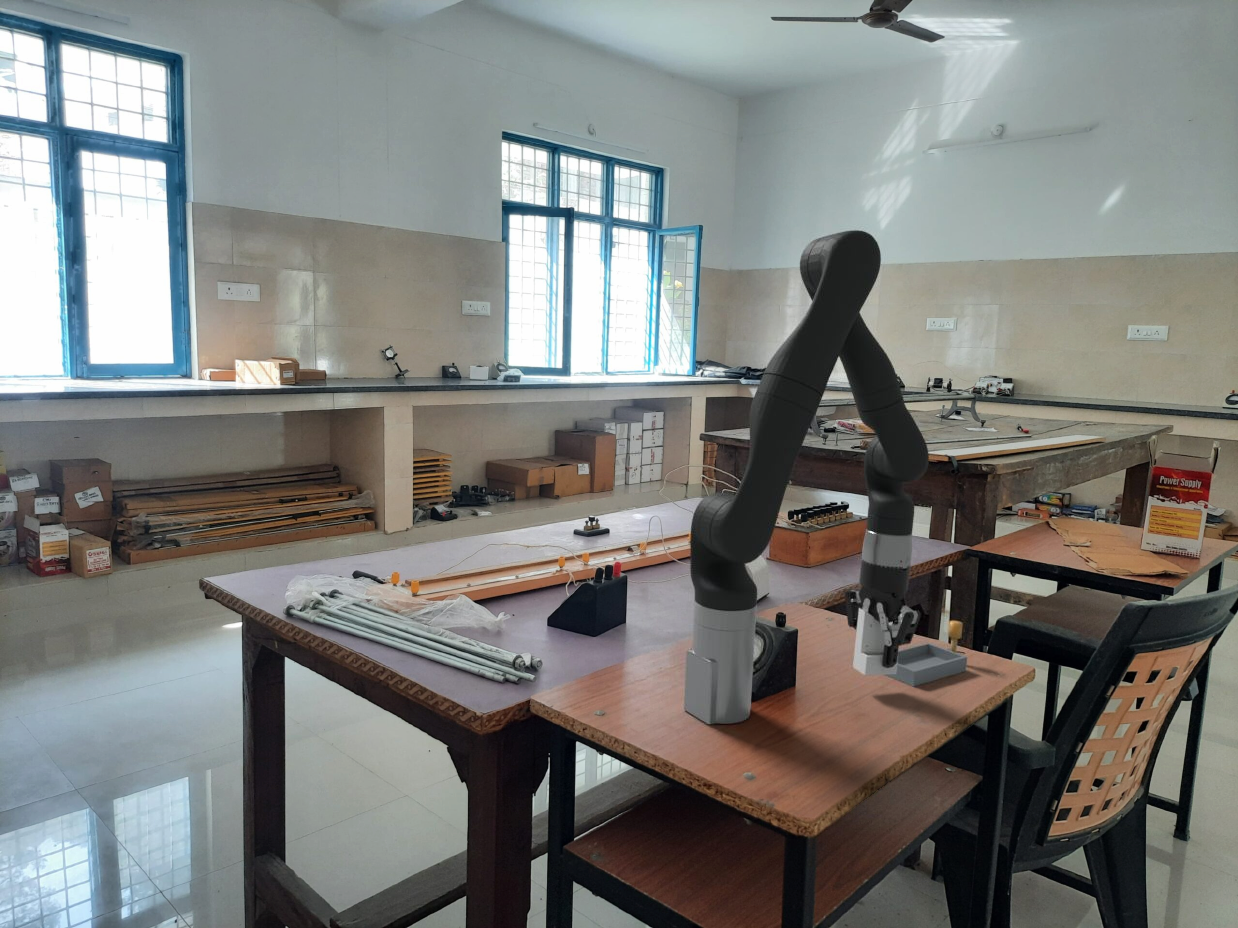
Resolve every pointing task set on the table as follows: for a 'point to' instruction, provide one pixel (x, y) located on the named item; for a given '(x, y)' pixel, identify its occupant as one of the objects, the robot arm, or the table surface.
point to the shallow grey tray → (930, 660)
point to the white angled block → (870, 646)
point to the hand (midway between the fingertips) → (875, 660)
